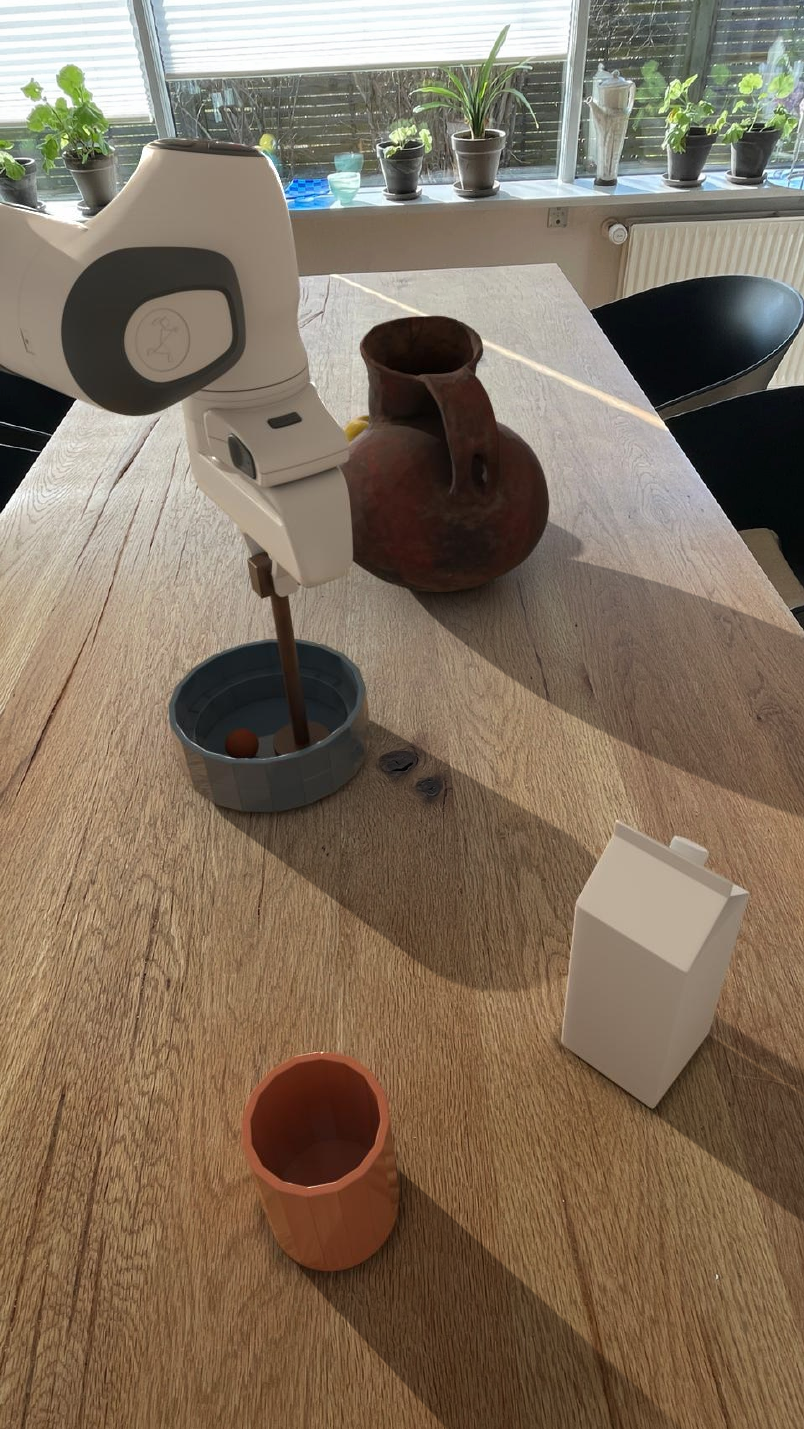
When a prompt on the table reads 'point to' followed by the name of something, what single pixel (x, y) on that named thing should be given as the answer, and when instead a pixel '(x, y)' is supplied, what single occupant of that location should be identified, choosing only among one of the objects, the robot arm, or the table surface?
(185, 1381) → the table surface
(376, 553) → the jug
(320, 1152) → the crock
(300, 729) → the brown wooden masher
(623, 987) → the milk carton
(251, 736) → the ball
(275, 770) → the bowl
